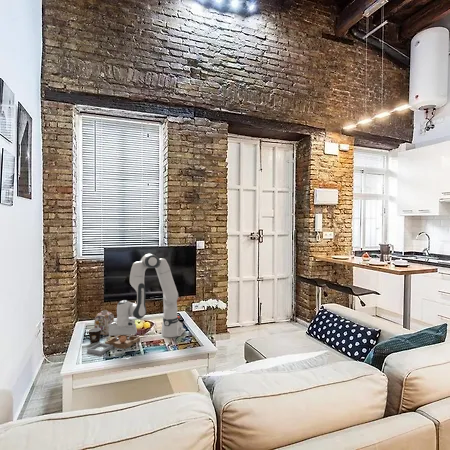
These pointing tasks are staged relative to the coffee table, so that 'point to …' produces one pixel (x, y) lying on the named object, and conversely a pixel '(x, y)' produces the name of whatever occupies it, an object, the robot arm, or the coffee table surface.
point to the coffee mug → (94, 335)
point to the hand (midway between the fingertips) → (122, 340)
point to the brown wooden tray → (126, 344)
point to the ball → (122, 339)
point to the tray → (98, 352)
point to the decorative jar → (103, 321)
